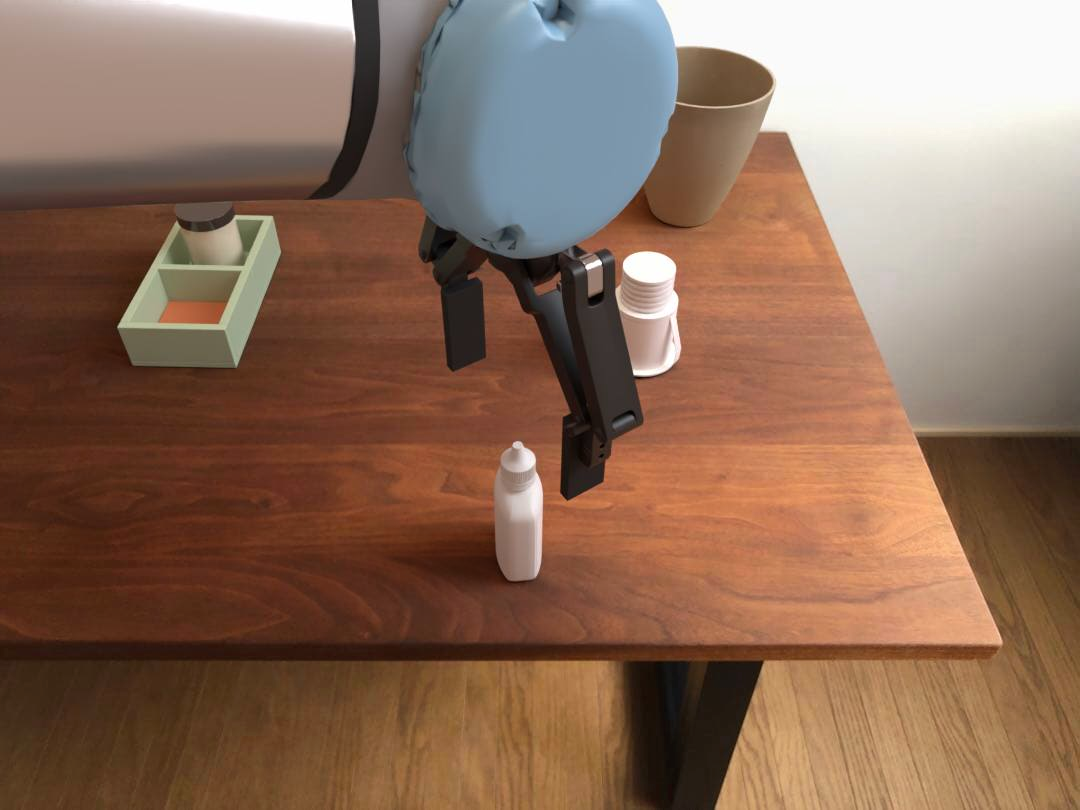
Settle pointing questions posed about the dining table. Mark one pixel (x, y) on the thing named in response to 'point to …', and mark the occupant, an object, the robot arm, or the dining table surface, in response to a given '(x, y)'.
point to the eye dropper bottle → (518, 514)
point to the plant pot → (708, 133)
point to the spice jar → (211, 233)
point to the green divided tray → (200, 302)
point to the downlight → (649, 312)
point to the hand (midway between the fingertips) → (520, 420)
